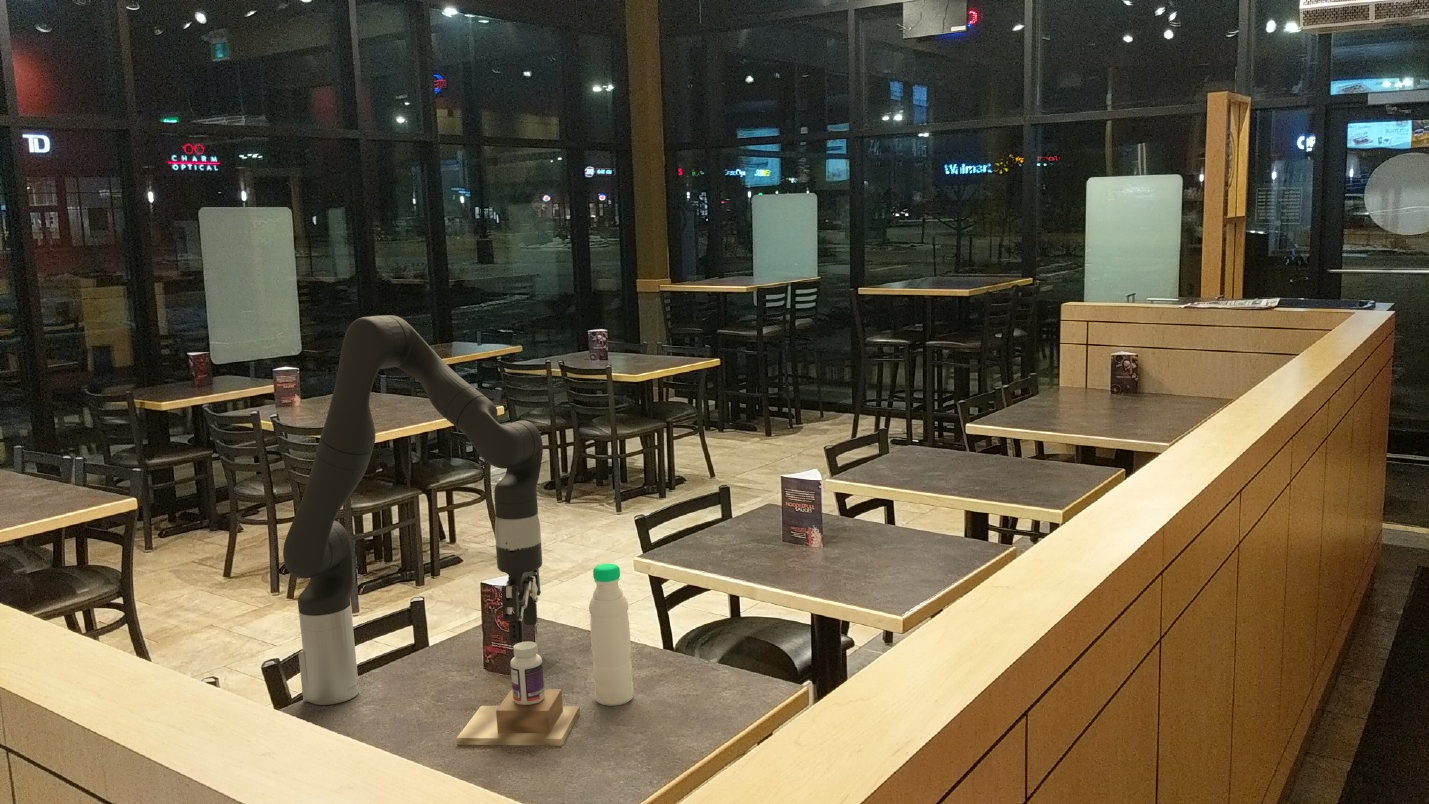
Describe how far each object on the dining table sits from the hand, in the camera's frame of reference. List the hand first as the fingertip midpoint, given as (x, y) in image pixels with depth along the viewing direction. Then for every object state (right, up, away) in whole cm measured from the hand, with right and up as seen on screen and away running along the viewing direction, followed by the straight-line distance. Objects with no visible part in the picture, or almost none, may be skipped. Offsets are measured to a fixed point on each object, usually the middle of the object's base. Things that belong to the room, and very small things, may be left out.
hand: (524, 633), depth 196 cm
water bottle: (+14, -15, +13) cm, 25 cm away
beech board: (-1, -17, +3) cm, 17 cm away
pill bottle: (+1, -12, +2) cm, 12 cm away
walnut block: (+1, -16, +2) cm, 16 cm away
